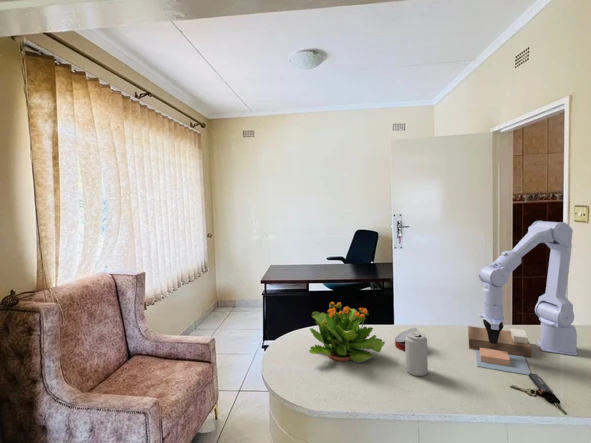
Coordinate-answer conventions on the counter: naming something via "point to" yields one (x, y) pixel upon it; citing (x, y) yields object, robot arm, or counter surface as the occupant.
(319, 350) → the potted flower
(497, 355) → the terracotta tile
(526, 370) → the mat
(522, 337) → the cream tile
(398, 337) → the canned food
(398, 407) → the counter surface
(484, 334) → the brown wooden block
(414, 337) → the beverage can
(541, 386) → the usb stick
